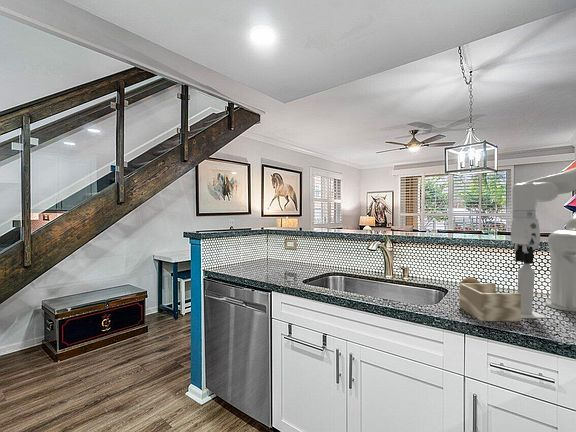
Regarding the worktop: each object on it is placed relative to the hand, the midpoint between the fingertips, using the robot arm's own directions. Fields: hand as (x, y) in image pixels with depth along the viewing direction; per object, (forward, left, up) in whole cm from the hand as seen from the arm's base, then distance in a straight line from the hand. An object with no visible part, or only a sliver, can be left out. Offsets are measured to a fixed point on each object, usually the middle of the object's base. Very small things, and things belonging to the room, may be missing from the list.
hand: (524, 261), depth 122 cm
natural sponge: (+10, -19, -20) cm, 30 cm away
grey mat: (0, 0, -20) cm, 20 cm away
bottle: (0, 0, -20) cm, 20 cm away
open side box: (+13, 0, -20) cm, 24 cm away
